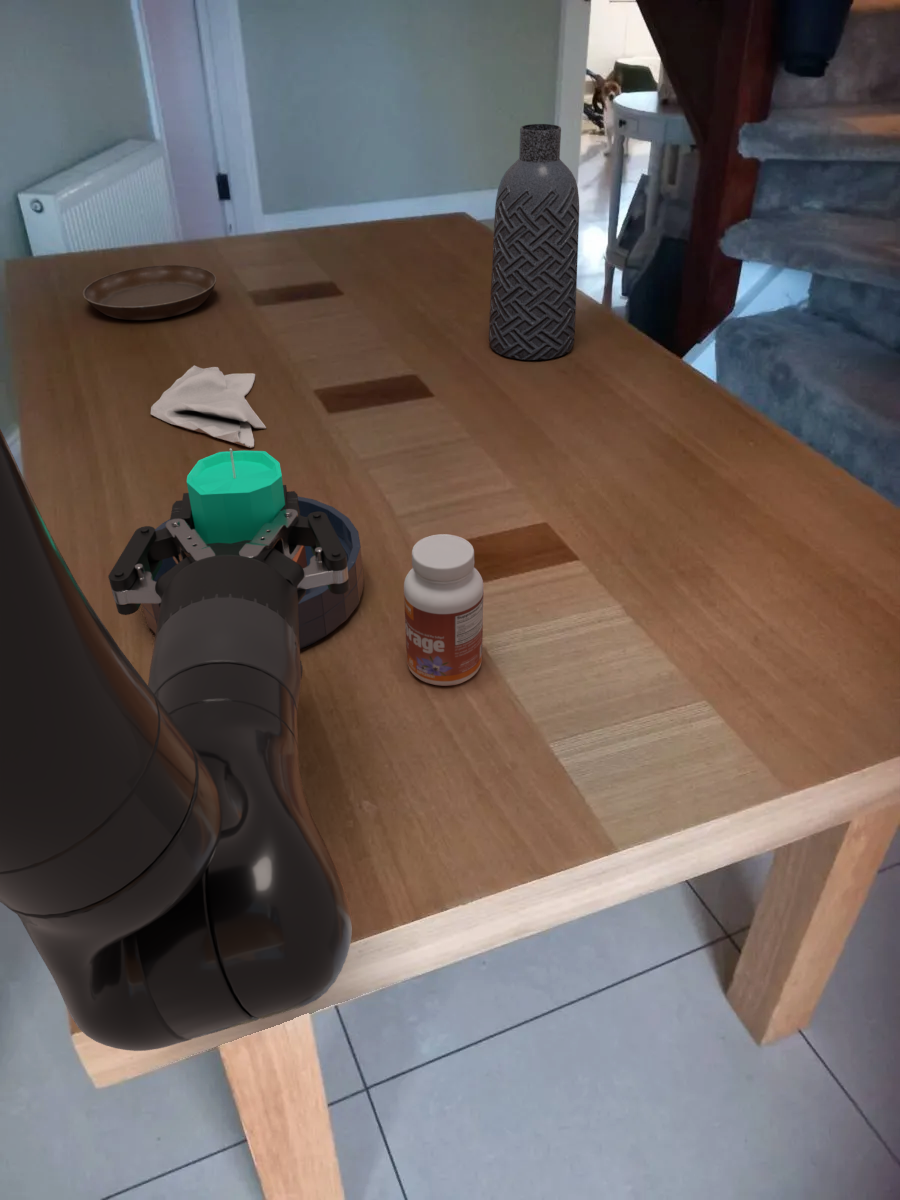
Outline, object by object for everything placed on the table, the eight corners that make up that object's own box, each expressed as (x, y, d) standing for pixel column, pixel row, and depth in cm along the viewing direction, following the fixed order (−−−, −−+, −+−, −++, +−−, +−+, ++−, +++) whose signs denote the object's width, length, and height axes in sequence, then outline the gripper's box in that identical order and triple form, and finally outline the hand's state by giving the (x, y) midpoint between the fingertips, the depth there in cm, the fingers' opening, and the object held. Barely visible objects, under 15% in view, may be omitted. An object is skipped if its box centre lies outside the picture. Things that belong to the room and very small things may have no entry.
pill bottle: (391, 662, 75) (383, 549, 69) (446, 630, 79) (444, 519, 72) (442, 700, 72) (439, 583, 65) (498, 664, 75) (501, 550, 68)
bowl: (110, 658, 76) (95, 609, 73) (187, 533, 92) (178, 489, 89) (340, 671, 74) (335, 622, 71) (379, 542, 90) (376, 498, 87)
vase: (487, 361, 127) (490, 136, 110) (489, 330, 137) (493, 119, 120) (575, 363, 126) (592, 136, 110) (571, 331, 136) (586, 119, 119)
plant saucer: (79, 331, 138) (74, 309, 136) (94, 289, 155) (89, 269, 153) (219, 320, 141) (215, 299, 139) (219, 280, 158) (216, 260, 156)
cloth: (155, 373, 125) (151, 357, 124) (257, 364, 127) (255, 348, 126) (147, 460, 104) (142, 442, 103) (269, 447, 107) (266, 429, 105)
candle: (249, 574, 67) (227, 421, 60) (314, 599, 64) (299, 442, 58) (190, 615, 63) (159, 455, 56) (257, 643, 60) (233, 479, 53)
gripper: (359, 587, 47) (339, 441, 60) (66, 615, 45) (114, 459, 59) (369, 697, 51) (348, 538, 65) (102, 727, 49) (138, 557, 63)
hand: (237, 501), depth 62 cm, fingers closed on candle, 5 cm apart
